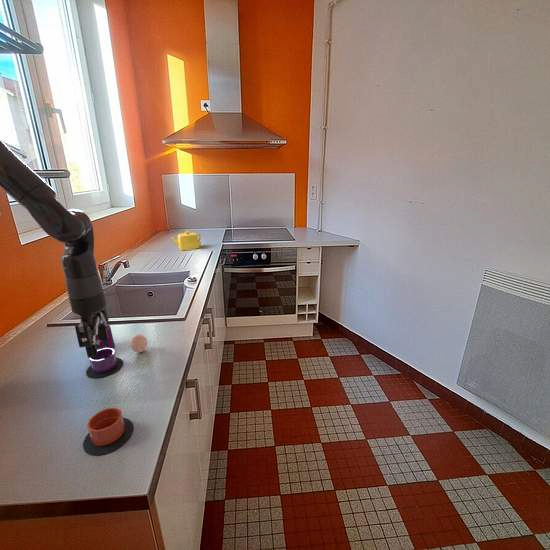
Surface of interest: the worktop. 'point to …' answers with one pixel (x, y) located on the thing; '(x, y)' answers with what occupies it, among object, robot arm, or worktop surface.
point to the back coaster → (93, 374)
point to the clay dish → (106, 426)
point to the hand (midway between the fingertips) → (98, 347)
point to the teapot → (187, 241)
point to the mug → (105, 343)
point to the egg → (138, 343)
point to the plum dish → (104, 360)
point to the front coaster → (109, 448)
